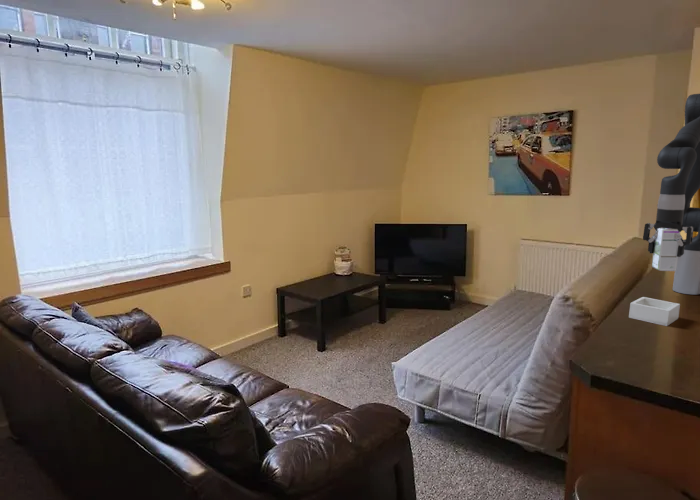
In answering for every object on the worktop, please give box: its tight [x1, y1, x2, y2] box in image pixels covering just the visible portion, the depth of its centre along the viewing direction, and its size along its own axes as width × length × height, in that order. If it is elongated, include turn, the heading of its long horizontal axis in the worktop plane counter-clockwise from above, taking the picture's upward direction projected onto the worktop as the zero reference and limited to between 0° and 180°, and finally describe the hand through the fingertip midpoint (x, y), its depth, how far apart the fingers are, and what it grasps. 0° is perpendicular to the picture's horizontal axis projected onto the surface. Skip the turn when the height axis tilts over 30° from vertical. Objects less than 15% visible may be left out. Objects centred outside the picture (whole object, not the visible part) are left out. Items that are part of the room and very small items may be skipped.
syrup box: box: [651, 228, 681, 272], centre depth 161 cm, size 6×6×14 cm
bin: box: [628, 296, 681, 327], centre depth 154 cm, size 11×11×5 cm
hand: (665, 254), depth 161 cm, fingers closed on syrup box, 7 cm apart
